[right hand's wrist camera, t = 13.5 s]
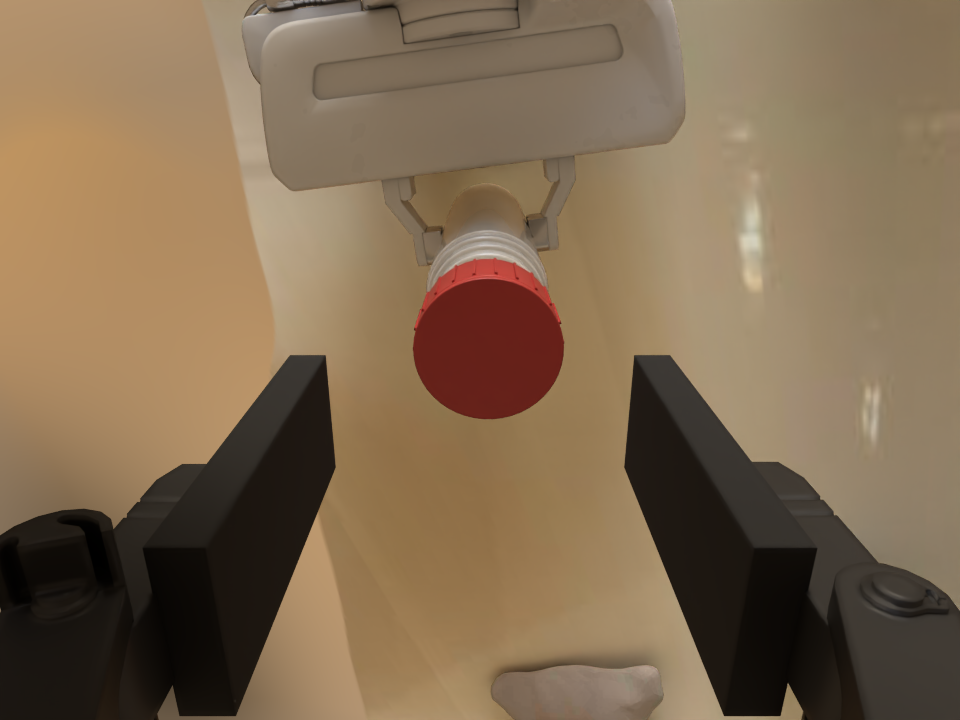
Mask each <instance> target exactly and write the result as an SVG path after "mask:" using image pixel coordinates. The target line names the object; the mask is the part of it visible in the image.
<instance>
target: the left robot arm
mask: <svg viewBox="0 0 960 720" xmlns="http://www.w3.org/2000/svg"><path fill="white" fill-rule="evenodd" d="M266 6H267V8H268V10H269V11H270V12H273V13H266V14H259V15H256V14H257V13H258V12H259V11H260V10H261V9H263V8H264V7H266ZM306 6H307V7H308V6H315V7H308V8H302V7H306ZM363 7H364V8H363ZM298 8H301V9H298ZM364 9H365V11H364ZM242 37H243V41H244V46H245V50H246V54H247V59H248V63H249V67H250V70H251V72H252V74H253V76H254V77H255V79H256V80H257V82H258V83H259V84H260V85H261V102H262V113H263V123H264V131H265V138H266V145H267V151H268V157H269V162H270V167H271V170H272V173H273V174H274V176H275V177H276V178H277V179H278V180H279V181H280V182H281V183H283V184H284V185H285V186H286V187H287V188H288V189H289V190H291V191H303V190H310V189H318V188H326V187H334V186H341V185H349V184H357V183H365V182H372V181H380V180H382V185H383V191H384V197H385V203H386V205H387V206H388V207H389V208H390V210H391V211H392V212H393V213H394V215H395V216H396V217H397V218H398V220H399V221H400V222H401V223H402V225H403V226H404V227H405V228H406V230H407V231H408V232H409V233H410V234H413V239H414V245H415V252H416V258H417V263H418V266H428V265H432V262H433V259H434V256H435V253H436V250H437V247H438V244H439V241H440V238H441V235H442V232H443V226H433V227H428V226H427V225H426V223H425V222H424V221H423V219H422V218H421V217H420V215H419V214H418V213H417V211H416V210H415V209H414V207H413V206H412V205H411V204H410V202H409V201H408V200H411V199H412V197H413V196H414V195H415V194H416V189H415V182H414V176H419V175H427V174H434V173H442V172H450V171H458V170H465V169H473V168H481V167H489V166H496V165H504V164H512V163H520V162H527V161H535V160H543V168H544V176H545V178H546V179H547V180H548V181H550V182H554V183H553V185H552V187H551V190H550V192H549V194H548V197H547V199H546V201H545V203H544V206H543V208H542V210H541V213H537V214H530V215H526V220H527V225H528V228H529V230H530V233H531V236H532V238H533V241H534V243H535V246H536V248H537V251H538V252H540V251H549V250H558V245H559V242H558V230H557V218H556V216H559V214H560V212H561V210H562V208H563V206H564V203H565V201H566V199H567V197H568V195H569V193H570V191H571V189H572V186H573V184H574V182H575V180H576V178H575V162H574V155H582V154H589V153H597V152H605V151H613V150H620V149H628V148H636V147H644V146H651V145H659V144H666V143H668V142H670V141H671V140H672V139H673V137H674V136H675V134H676V133H677V132H678V130H679V128H680V127H681V125H682V124H683V122H684V119H685V84H684V71H683V61H682V52H681V44H680V38H679V31H678V25H677V20H676V15H675V10H674V7H673V4H672V1H671V0H363V3H362V1H361V0H256V1H255V2H254V3H253V4H252V5H251V6H250V7H249V9H248V10H247V12H246V14H245V16H244V19H243V22H242Z"/></svg>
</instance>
